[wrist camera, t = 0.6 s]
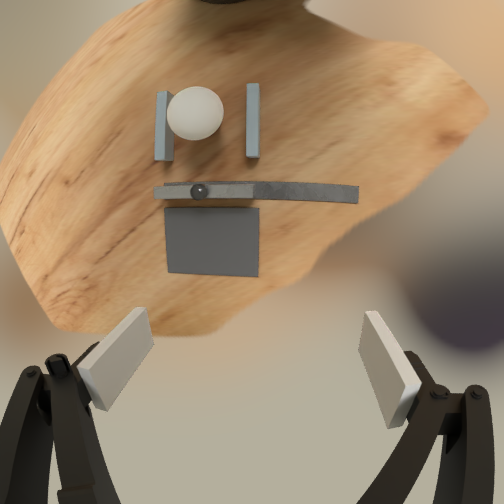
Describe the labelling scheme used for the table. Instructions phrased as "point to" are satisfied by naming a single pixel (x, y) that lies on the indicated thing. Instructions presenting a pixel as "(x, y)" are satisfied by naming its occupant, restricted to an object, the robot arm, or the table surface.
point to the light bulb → (195, 113)
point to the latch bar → (205, 191)
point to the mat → (212, 240)
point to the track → (293, 190)
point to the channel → (166, 135)
